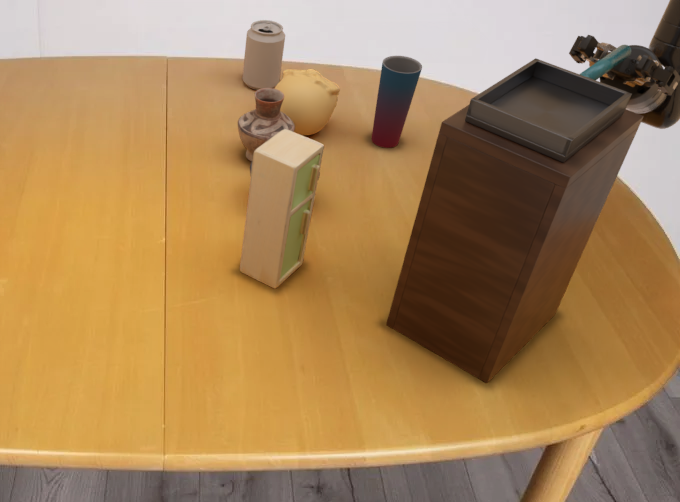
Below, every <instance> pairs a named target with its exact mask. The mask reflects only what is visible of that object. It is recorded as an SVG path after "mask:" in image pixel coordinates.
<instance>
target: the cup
mask: <svg viewBox="0 0 680 502" xmlns="http://www.w3.org/2000/svg"><path fill="white" fill-rule="evenodd" d="M422 69H423V65H422V63H421V62H420V61H418V60H417V59H415V58H412V57H409V56H406V55H405V56H404V55H390V56H387V57H385V58H384V59H383V60H382V64H381V69H380V75H379V76H380V78H379V82H378V90H377V97H376V104H375V111H374V118H373V125H372V132H371V137H370V139H371V140H370V141H371V142H372V143H373V144H374V145H376V146H378V147H380V148H386V149H390V148H391V149H392V148H395V147H397V146H398V145H399V143H400V139H401V138H402V137H401V136H402V133H403V130H404V127H405V123H406V121H407V118H408V114H409V111H410V108H411V104H412V101H413V98H414V95H415V93H416V89H417V85H418V83H419V79H420V76H421V73H422Z"/></svg>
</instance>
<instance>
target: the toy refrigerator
mask: <svg viewBox="0 0 680 502" xmlns="http://www.w3.org/2000/svg"><path fill="white" fill-rule="evenodd" d="M324 151H325V145H324V144H323V143H321V142H319V141H317V140H314V139H312V138H309V137H307V136H306V135H304V136H302V135H300V134H297V133H295V132H292V131H290V130H287V129H284V130H281V131H280V132H278V133H277V134H276V135H274V136H273V137H272V138H270V139H269V140H268V141H266V142H265V143H264V144H262V145H261V146H260V147H258V148H257V149H256V150H255V151H254V154H253V162H252V161H251V162H252V170H251V177H250V180H249V188H248V197H247V205H246V214H245V222H244V230H243V239H242V246H241V255H240V263H239V272H240V273H242V274H243V275H246V276H248V277H250V278H252V279H254V280H256V281H258V282H260V283H261V284H265V285H266V286H268V287H270V288H272V289H277V288H278V287H280V286H281V285H282V284H283V283H284V282H285V281H286V280H287V279H288V278H290V276H291V275H293V274H294V273H295V272H296V270H298V268H300V267H301V266H302V265H303V263H304V259H305V254H306V253H305V252H306V247H307V242H308V236H309V230H310V224H311V219H312V214H313V209H314V204H315V199H316V192H317V187H318V184H319V183H318V182H319V180H318V177H319V178H320V176H319V172H320V173H321V166H322V161H323V160H322V159H323V154H324Z"/></svg>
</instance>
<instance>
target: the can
mask: <svg viewBox="0 0 680 502" xmlns="http://www.w3.org/2000/svg"><path fill="white" fill-rule="evenodd" d="M283 30H284V27H283V25H282V24H281V23H280V22H277V21H273V20H267V19H262V20H261V19H260V20H256V21H254V22H252V23H251V24H250V28H249V29H248V30H247V31H246V36H245V48H244V57H243V67H242V77H241V79H242V81H243V83H245V85H246V86H247V87H248V88H250V89H251V90H255V91H257V90H259V89H262V88H275V87H276V85H277V84H278V83H279V82H280V81H281V79H280V78H281V71H282V63H283V56H284V49H285V41H286V34H285V32H284V31H283Z"/></svg>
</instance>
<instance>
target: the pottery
mask: <svg viewBox="0 0 680 502" xmlns="http://www.w3.org/2000/svg"><path fill="white" fill-rule="evenodd" d="M274 88H275V87H274ZM274 88H262V89H259V90H255V92H254V101H255V108H254V109H252V110H250V111H247V112H246V113H244V114H242V115H241V116H239V118H238V120H237V130H238V134H239V138H240V142H241V143H242V145H243V146H244V148H245V149H246V152H245V157H246V159H247V160H248V161H250V165H249V175H250V177H249V178H251V170H252V162H253V154H254V151H255V150H256V149H257V148H258V147H260V146H261V145H262V144H264V143H265V142H266V141H268V140H269V139H270V138H272V137H273V136H274V135H276V134H277V133H278V132H280V131H281V130H284V129H287V130H290V131H292V132H294V130H295V125H294V123H293V121H292V120H291V119H290V118H289V117H288V116H287V115H286V114H284V113H283V112H281V111H280V108H281V105H282V102H283V100H284V94H283V93H282V92H281V91H279V90H277V89H274ZM320 174H321V171H320V172H319V177H318V181H319V179H320Z"/></svg>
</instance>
